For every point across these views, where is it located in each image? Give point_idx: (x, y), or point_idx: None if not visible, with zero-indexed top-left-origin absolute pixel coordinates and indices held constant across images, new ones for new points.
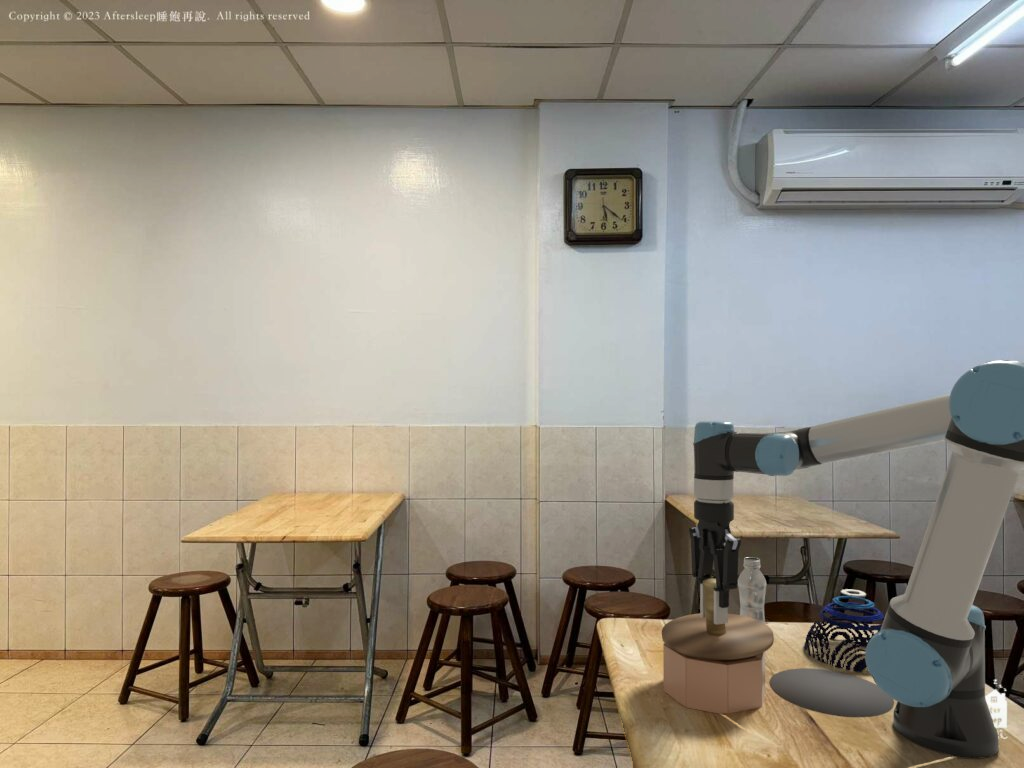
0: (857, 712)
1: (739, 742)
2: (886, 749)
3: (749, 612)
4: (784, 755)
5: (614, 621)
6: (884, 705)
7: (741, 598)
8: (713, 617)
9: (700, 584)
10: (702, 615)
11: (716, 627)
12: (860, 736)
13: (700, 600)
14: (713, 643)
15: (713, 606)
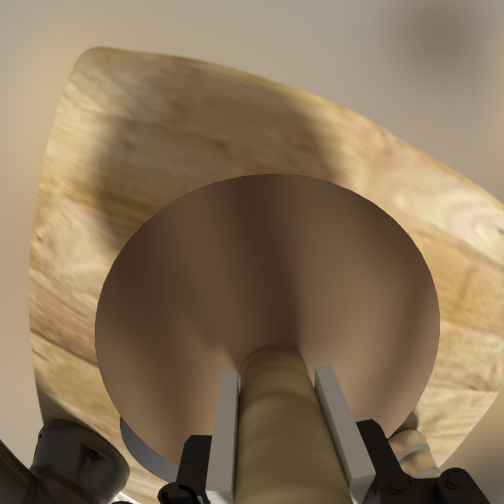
0: (133, 434)
1: (72, 217)
2: (52, 389)
3: (413, 475)
4: (37, 261)
5: None
6: (151, 466)
7: None
8: (249, 390)
9: (373, 471)
10: (318, 372)
11: (244, 374)
12: (78, 392)
13: (348, 409)
14: (188, 312)
15: (245, 422)
